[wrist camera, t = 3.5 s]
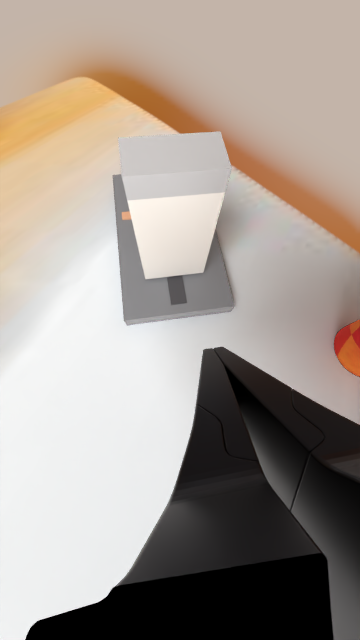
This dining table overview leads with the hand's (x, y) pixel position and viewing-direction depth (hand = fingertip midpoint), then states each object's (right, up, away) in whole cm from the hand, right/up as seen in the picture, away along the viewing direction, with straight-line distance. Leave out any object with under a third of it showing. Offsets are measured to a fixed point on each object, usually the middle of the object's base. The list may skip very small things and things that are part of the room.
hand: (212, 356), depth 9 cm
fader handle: (-2, +7, +13) cm, 16 cm away
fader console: (-3, +11, +16) cm, 20 cm away
